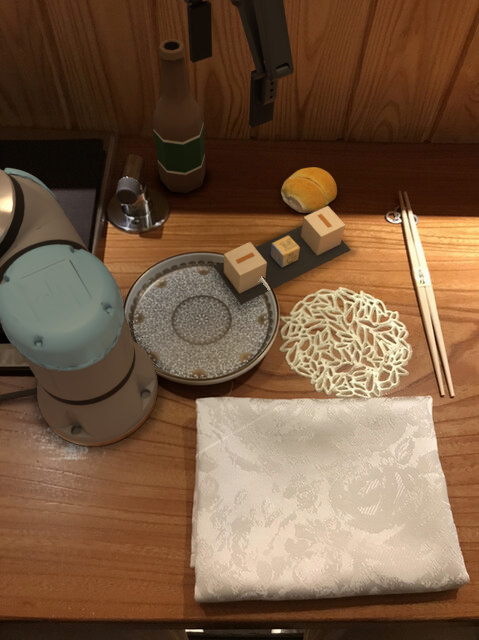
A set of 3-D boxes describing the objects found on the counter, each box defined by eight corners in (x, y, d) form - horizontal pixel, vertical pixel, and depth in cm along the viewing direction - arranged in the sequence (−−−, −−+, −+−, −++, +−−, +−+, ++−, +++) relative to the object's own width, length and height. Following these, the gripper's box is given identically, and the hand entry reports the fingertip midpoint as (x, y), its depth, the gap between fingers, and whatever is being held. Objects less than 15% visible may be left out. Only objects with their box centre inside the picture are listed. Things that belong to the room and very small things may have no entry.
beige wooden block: (317, 255, 86) (321, 236, 83) (300, 236, 88) (303, 216, 85) (340, 244, 88) (345, 224, 84) (323, 225, 90) (328, 205, 86)
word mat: (241, 306, 82) (241, 304, 81) (213, 268, 85) (213, 266, 85) (350, 251, 88) (351, 250, 87) (320, 218, 91) (321, 216, 91)
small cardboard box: (239, 293, 82) (240, 275, 78) (223, 272, 84) (223, 253, 80) (265, 281, 84) (267, 262, 80) (249, 260, 86) (250, 241, 82)
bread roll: (344, 193, 94) (348, 175, 91) (310, 222, 91) (313, 205, 87) (306, 169, 97) (309, 150, 94) (271, 196, 93) (273, 178, 90)
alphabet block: (270, 255, 86) (271, 242, 84) (286, 247, 87) (288, 234, 85) (281, 268, 85) (283, 256, 82) (298, 260, 86) (300, 247, 83)
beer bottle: (215, 174, 96) (212, 40, 75) (188, 202, 92) (178, 69, 72) (177, 156, 98) (165, 21, 78) (150, 183, 94) (130, 49, 74)
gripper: (355, -80, 43) (317, 140, 61) (198, -187, 54) (205, 26, 72) (274, -57, 41) (259, 164, 59) (127, -174, 52) (152, 43, 70)
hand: (229, 89), depth 66 cm, fingers open, 13 cm apart
